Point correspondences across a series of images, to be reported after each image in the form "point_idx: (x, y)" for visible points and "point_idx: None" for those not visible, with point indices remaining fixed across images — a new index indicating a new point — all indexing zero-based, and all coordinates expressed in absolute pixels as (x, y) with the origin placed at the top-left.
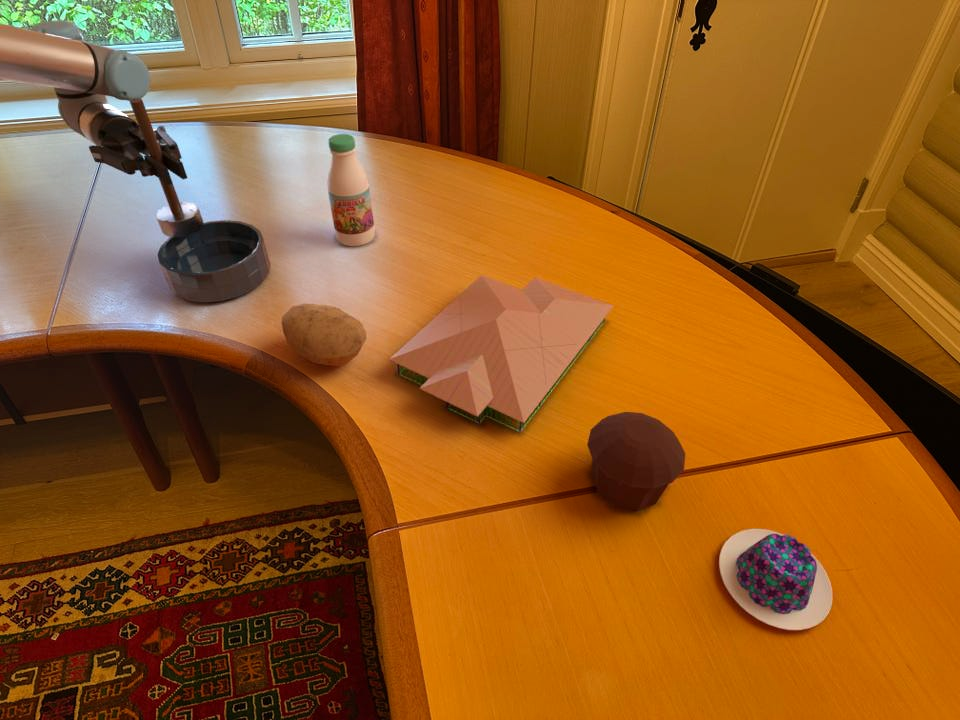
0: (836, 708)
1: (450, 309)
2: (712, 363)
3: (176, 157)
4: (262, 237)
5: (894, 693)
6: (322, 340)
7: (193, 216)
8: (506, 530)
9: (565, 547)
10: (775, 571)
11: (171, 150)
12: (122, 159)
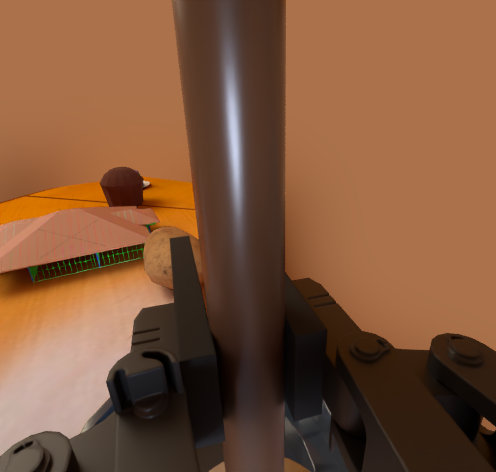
0: (158, 178)
1: (63, 252)
2: (9, 220)
3: (149, 318)
4: (87, 423)
5: (143, 177)
6: (188, 233)
7: (212, 469)
8: (186, 204)
9: (173, 199)
10: (137, 171)
11: (106, 425)
12: (492, 354)
